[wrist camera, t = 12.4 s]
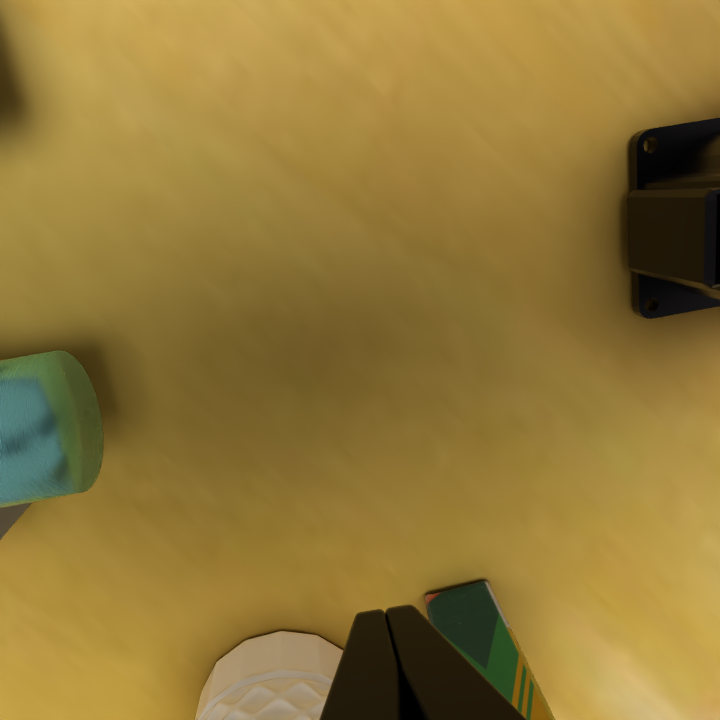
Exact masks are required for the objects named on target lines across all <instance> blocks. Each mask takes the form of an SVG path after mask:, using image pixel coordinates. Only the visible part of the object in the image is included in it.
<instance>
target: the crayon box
mask: <svg viewBox="0 0 720 720" xmlns="http://www.w3.org/2000/svg"><path fill="white" fill-rule="evenodd" d="M425 601H426V606H427V612H428V617H429V622H430V623H431V624H432V625H433V626H434V627H435V628H436V629H437V630H438V631H439V632H440V633H441V634H442V635H443V636H444V637H445V638H446V639H447V640H448V641H449V642H450V643H451V644H452V645H453V646H454V647H455V648H456V649H457V650H458V651H459V652H460V653H461V654H462V655H463V656H464V657H465V658H466V659H467V660H468V661H469V662H470V663H471V664H472V665H473V666H474V667H475V668H476V669H477V670H478V671H479V672H480V673H481V674H482V675H483V676H484V677H485V678H486V679H487V680H488V681H489V682H490V683H491V684H492V685H493V686H494V687H495V688H496V689H497V690H498V691H499V692H500V693H501V694H502V695H503V696H504V697H505V698H506V699H507V700H508V701H509V702H510V703H511V704H512V705H513V706H514V707H515V708H516V709H517V710H518V711H519V712H520V713H521V714H522V715H523V716H524V717H525V718H526V719H527V720H555V718H554V716H553V714H552V712H551V710H550V708H549V706H548V704H547V702H546V700H545V698H544V696H543V694H542V692H541V690H540V688H539V686H538V684H537V682H536V680H535V678H534V676H533V674H532V671H531V669H530V667H529V665H528V662H527V660H526V658H525V656H524V654H523V653H522V651H521V648H520V646H519V644H518V642H517V640H516V638H515V636H514V634H513V632H512V630H511V628H510V626H509V624H508V622H507V620H506V618H505V616H504V614H503V612H502V610H501V607H500V605H499V603H498V601H497V599H496V597H495V595H494V593H493V591H492V589H491V587H490V584H489V582H488V581H482V582H478V583H474V584H470V585H465V586H461V587H458V588H454V589H450V590H446V591H442V592H438V593H435V594H428V595H426V597H425Z"/></svg>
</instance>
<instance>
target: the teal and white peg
mask: <svg viewBox="0 0 720 720" xmlns="http://www.w3.org/2000/svg"><path fill="white" fill-rule="evenodd" d="M102 457H103V426H102V418H101V412H100V408H99V404H98V400H97V397H96V394H95V391H94V388H93V386H92V383H91V381H90V379H89V377H88V375H87V373H86V371H85V370H84V368H83V367H82V365H81V364H80V363H79V361H78V360H77V359H76V358H75V357H74V356H72V355H71V354H69V353H68V352H65V351H62V350H57V351H51V352H45V353H39V354H34V355H28V356H22V357H17V358H11V359H5V360H0V508H3V507H8V506H13V505H19V504H24V503H29V502H34V501H39V500H45V499H50V498H55V497H60V496H65V495H71V494H76V493H81V492H84V491H87V490H88V489H89V488H91V486H92V485H93V484H94V482H95V481H96V479H97V477H98V474H99V471H100V468H101V463H102Z"/></svg>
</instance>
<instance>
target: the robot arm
mask: <svg viewBox="0 0 720 720" xmlns="http://www.w3.org/2000/svg"><path fill="white" fill-rule="evenodd" d="M647 138H648V139H649V140H650V143H651V147H650V150H649V151H648V152H646V151H645V150H644V147H643V145H644V142H645V140H646V139H647ZM630 188H631V194H630V196H629V197H628V199H627V206H628V256H629V268H630V269H632V298H633V309H634V311H635V313H636V314H637V315H639V316H642V317H644V318H650V319H652V318H658V317H663V316H669V315H674V314H679V313H685V312H690V311H696V310H701V309H706V308H712V307H717V306H720V118H715V119H709V120H703V121H696V122H690V123H684V124H678V125H672V126H666V127H659V128H653V129H648V130H643V131H640V132H638V133H637V134H636V135H635V136H634V137H633V139H632V141H631V144H630ZM649 299H652V305H651V307H650V308H649V309H647V310H646V307H645V305H646V302H647V301H648V300H649ZM319 720H527V719H526V718H525V717H524V716H523V715H522V714H521V713H520V712H519V711H518V710H517V709H516V708H515V707H514V706H513V705H512V704H511V703H510V702H509V701H508V700H507V699H506V698H505V697H504V696H503V695H502V694H501V693H500V692H499V691H498V690H497V689H496V688H495V687H494V686H493V685H492V684H491V683H490V682H489V681H488V680H487V679H486V678H485V677H484V676H483V675H482V674H481V673H480V672H479V671H478V670H477V669H476V668H475V667H474V666H473V665H472V664H471V663H470V662H469V661H468V660H467V659H466V658H465V657H464V656H463V655H462V654H461V653H460V652H459V651H458V650H457V649H456V648H455V647H454V646H453V645H452V644H451V643H450V642H449V641H448V640H447V639H446V638H445V637H444V636H443V635H442V634H441V633H440V632H439V631H438V630H437V629H436V628H435V627H434V626H433V625H432V624H431V623H430V622H429V621H428V620H427V619H426V618H425V616H424V615H423V614H422V613H421V612H420V611H419V610H418V609H417V608H416V607H414V606H413V605H402V606H396V607H390V608H388V609H387V610H386V612H384V611H383V610H381V609H378V610H371V611H365V612H360V613H358V614H357V615H356V616H355V618H354V621H353V624H352V627H351V630H350V633H349V636H348V638H347V641H346V644H345V647H344V650H343V653H342V656H341V659H340V661H339V664H338V667H337V670H336V673H335V676H334V679H333V681H332V684H331V687H330V690H329V693H328V696H327V699H326V702H325V704H324V707H323V710H322V713H321V716H320V719H319Z"/></svg>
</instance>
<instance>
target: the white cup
mask: <svg viewBox="0 0 720 720" xmlns="http://www.w3.org/2000/svg"><path fill="white" fill-rule="evenodd" d="M342 653H343V650H342V649H340V648H338V647H336V646H335V645H333V644H331V643H330V642H328V641H326V640H324V639H323V638H321V637H319V636H317V635H312V634H303V633H295V632H286V631H279V632H275V633H271V634H267V635H264V636H260V637H256V638H252V639H248V640H245V641H244V642H242V643H241V644H240V645H238V646H237V647H236V648H234V649H233V650H232V651H230V652H229V653H228V654H226V655H225V656H224V657H222V658H221V659H220V660H218V661H217V662H216V664H215V666H214V668H213V670H212V672H211V674H210V676H209V678H208V680H207V682H206V683H205V685H204V687H203V689H202V692H201V696H200V700H199V704H198V709H197V713H196V717H195V720H319V719H320V716H321V713H322V710H323V707H324V704H325V702H326V699H327V696H328V693H329V690H330V687H331V684H332V681H333V679H334V676H335V673H336V670H337V667H338V664H339V661H340V659H341V656H342Z"/></svg>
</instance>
